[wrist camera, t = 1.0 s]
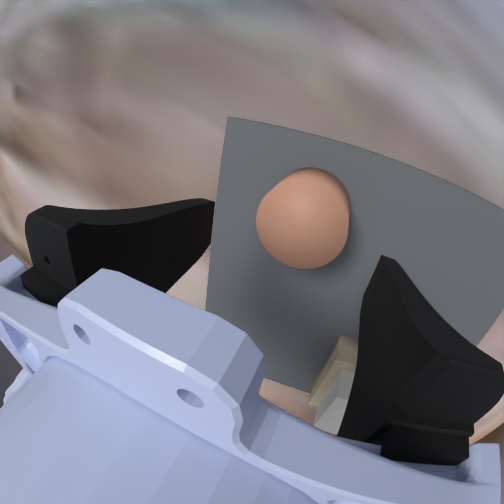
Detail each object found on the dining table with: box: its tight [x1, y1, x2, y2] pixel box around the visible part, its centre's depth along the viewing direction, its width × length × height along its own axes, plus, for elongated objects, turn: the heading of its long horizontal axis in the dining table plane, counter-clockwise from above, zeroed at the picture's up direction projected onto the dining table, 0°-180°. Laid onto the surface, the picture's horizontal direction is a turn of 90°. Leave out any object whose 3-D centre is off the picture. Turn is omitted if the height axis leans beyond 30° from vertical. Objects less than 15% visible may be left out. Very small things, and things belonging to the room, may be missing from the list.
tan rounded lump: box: [256, 167, 351, 269], centre depth 15 cm, size 4×4×4 cm
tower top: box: [313, 369, 355, 434], centre depth 18 cm, size 5×5×2 cm
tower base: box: [308, 335, 358, 408], centre depth 20 cm, size 6×6×2 cm
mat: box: [206, 117, 504, 393], centre depth 19 cm, size 22×21×1 cm
